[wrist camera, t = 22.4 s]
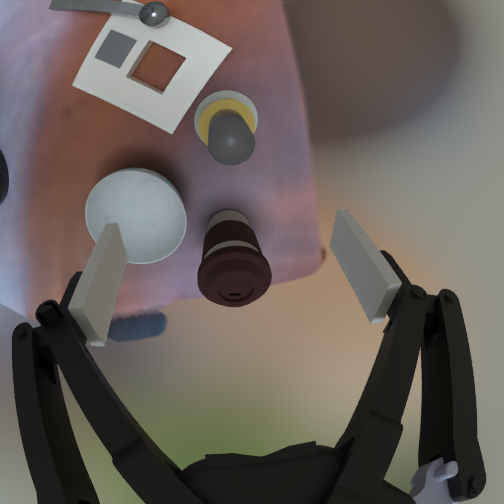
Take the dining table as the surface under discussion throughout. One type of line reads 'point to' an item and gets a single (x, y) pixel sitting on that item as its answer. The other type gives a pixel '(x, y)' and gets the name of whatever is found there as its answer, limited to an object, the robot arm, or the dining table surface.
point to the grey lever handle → (118, 9)
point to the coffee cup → (232, 262)
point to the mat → (223, 95)
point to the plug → (228, 131)
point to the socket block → (130, 55)
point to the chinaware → (138, 213)
